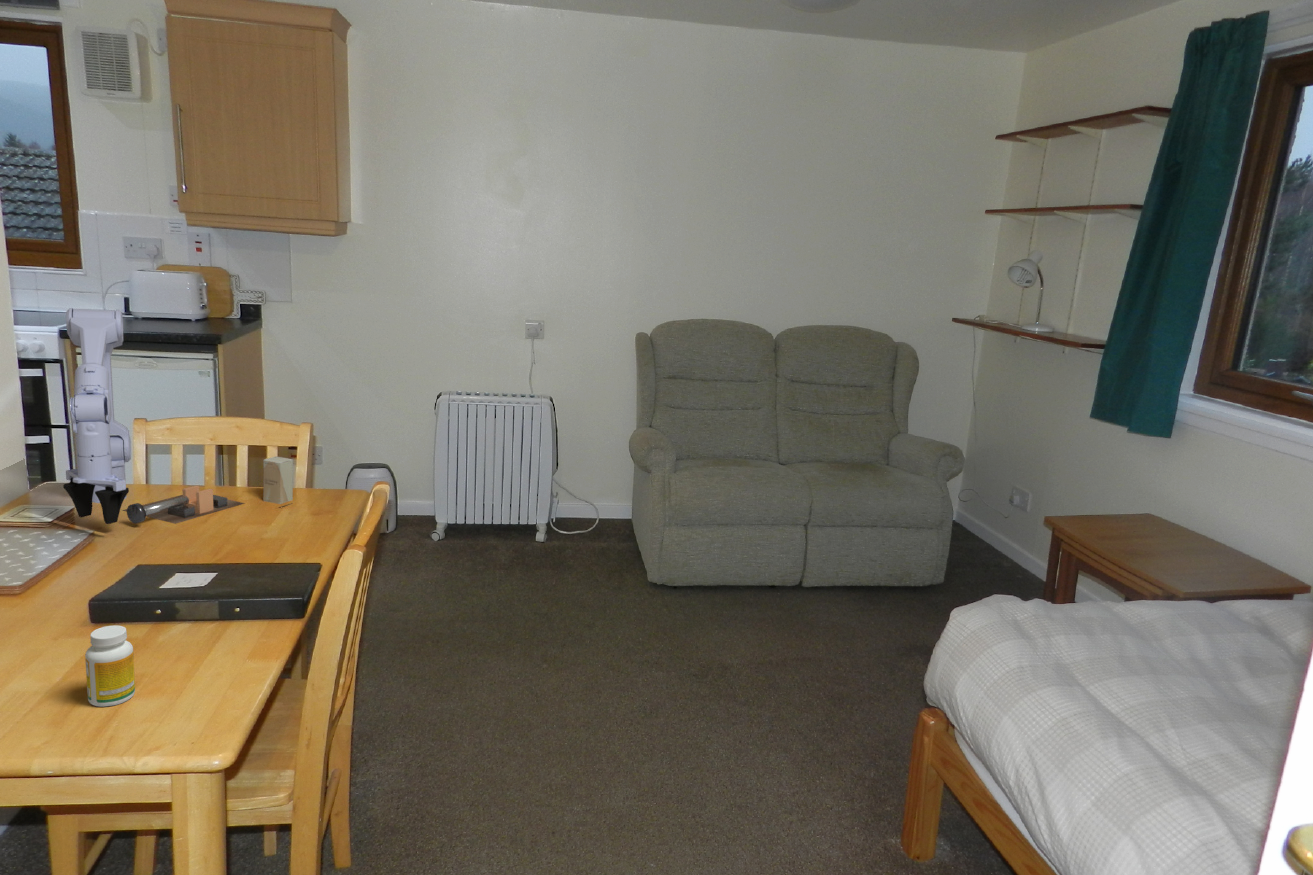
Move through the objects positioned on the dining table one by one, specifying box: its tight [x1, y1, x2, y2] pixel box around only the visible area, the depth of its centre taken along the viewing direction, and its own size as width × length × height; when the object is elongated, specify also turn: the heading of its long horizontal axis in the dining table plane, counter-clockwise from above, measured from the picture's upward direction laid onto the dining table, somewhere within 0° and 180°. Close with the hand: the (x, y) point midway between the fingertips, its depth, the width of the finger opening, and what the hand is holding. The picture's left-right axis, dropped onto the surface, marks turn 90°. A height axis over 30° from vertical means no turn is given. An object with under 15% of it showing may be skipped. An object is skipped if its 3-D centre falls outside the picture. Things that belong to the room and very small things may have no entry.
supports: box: [168, 494, 228, 518], centre depth 186 cm, size 5×11×2 cm, turn 158°
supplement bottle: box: [84, 624, 136, 708], centre depth 112 cm, size 5×5×10 cm
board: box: [121, 494, 246, 525], centre depth 188 cm, size 16×18×1 cm
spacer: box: [182, 485, 214, 514], centre depth 186 cm, size 5×4×5 cm
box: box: [262, 456, 294, 509], centre depth 196 cm, size 5×4×11 cm
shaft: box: [126, 496, 189, 524], centre depth 177 cm, size 4×12×4 cm, turn 158°
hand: (98, 519), depth 168 cm, fingers open, 7 cm apart
